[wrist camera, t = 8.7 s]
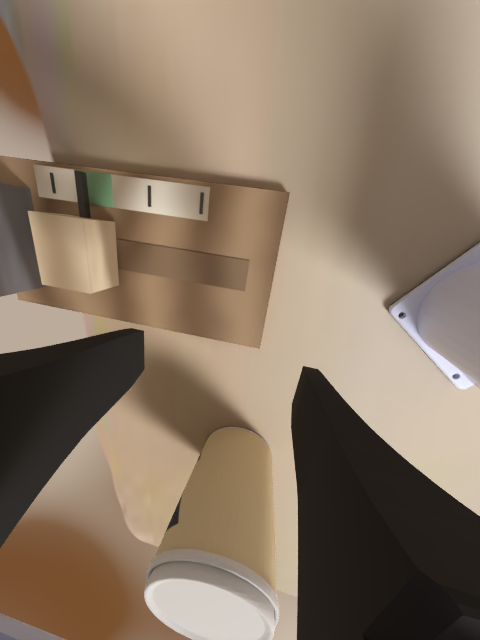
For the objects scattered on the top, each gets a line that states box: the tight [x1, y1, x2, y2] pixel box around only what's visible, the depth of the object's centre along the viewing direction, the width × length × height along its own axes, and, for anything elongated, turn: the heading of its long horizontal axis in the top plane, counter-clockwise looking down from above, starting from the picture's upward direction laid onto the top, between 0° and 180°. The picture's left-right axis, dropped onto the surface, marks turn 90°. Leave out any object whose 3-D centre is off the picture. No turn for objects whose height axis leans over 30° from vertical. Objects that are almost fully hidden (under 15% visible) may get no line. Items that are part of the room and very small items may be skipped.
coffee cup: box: [144, 427, 279, 640], centre depth 20 cm, size 9×9×12 cm
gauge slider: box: [28, 170, 119, 294], centre depth 16 cm, size 4×8×3 cm, turn 172°
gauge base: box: [0, 156, 290, 349], centre depth 17 cm, size 24×12×5 cm, turn 82°
